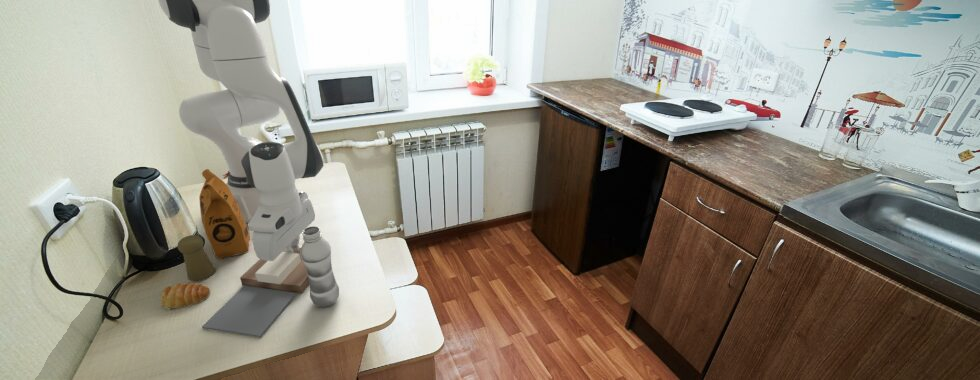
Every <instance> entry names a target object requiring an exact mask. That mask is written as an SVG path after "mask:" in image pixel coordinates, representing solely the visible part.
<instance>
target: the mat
mask: <svg viewBox="0 0 980 380" xmlns="http://www.w3.org/2000/svg"><path fill="white" fill-rule="evenodd" d="M297 295H298V293H294V292H287V291H280V290H272V289H265V288H258V287H251V286H242V287H241V288H240V289H238V291H237V292H236V293H235V294H234V295H233V296H232V297H230V299H228V300H227V301H226V302H225V303H224V304H223V306H222V307H221V306H220V308H219V309H218V310H217V311H216V312H215V313H214V314H213V315H212V316H211V317H210V318H209V319H208V320H207V321H206V322H205V323H204V324H203V325H202V326H201V329H204V330H210V331H216V332H223V333H228V334H235V335H240V336H241V335H242V336H249V337H254V338H260V339H261V338H262V337H263V336H264V335H265V334H266V332H267V331H268V330H269V329H270V328H271V327H272V325H273V324H274V323H275V321H277V319H278V318H279V317H280V316H281V314H282V313H283V312H284V311H285V310H286V308H287V307H288V306H289V305H290V304H291V303H292V301H293V300H294V299H295V298H296V297H297Z"/></svg>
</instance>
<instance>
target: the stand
mask: <svg viewBox="0 0 980 380" xmlns="http://www.w3.org/2000/svg"><path fill="white" fill-rule="evenodd" d="M300 251H301V247H299V250H298V251H297V252H296V253H298V254H299V255H300ZM283 252H286V251H285V250H284V251H283ZM300 259H301V262H300V263H299V264H298V265H297V267H296V268H295V269H294V270H293V271H292V272H291V273H290V274H289V275H288V276H287V278H286V279H285V280H284V281H283V282H282V283H281V284H274V283H267V282H259V281H257V278H256V274H255V273H256V272H257V271H258V270H259V269H260V268H261V267H262V266H263V265H264V264H265V263H266V262H267V261H266V260H261V259H259V258H258V260H257V261H256V262H255V263H254V264H253V265H252V266H251V267H250V268H249V269H248V270H246V271H245V272H244V273H243V274H242V275H241V276H240V277H239V279H240V282H241V285H242V287H243V286H251V287H258V288H265V289H272V290H280V291H287V292H294V293H297V294H300V295H302V294H304V292H305V291H306V290H307V288H308V287H310V284H309V277H308V273H307V270H306V267H305V265H304V263H303V260H302V258H301V255H300Z"/></svg>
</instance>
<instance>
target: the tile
mask: <svg viewBox="0 0 980 380" xmlns="http://www.w3.org/2000/svg"><path fill="white" fill-rule="evenodd" d="M300 262H301V259H300V255H299V254H298V253H290V252H282V253H281V254H280V255H279V256H278V257H277V258H276V259H275V260H273V261H267V262H266V263H265V264H264V265H263V266H262V267H261V268H260V269H259V270H258V271H257V272H256V273H255V274H256V278H257V281H259V282H267V283H274V284H281V283H282V282H283V281H284V280H285V279H286V278H287V276H288V275H289V274H290V273H291V272H292V271H293V270H294V269H295V268H296V267H297V265H298V264H299V263H300Z"/></svg>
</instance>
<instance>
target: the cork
mask: <svg viewBox="0 0 980 380" xmlns="http://www.w3.org/2000/svg"><path fill="white" fill-rule="evenodd" d="M203 247H204V240H203V238H202V237H200V235H197V234H196V235H194V234H193V235H191V234H190V235H187V236H185V237H183V238H180V239H179V240H178V242H177V250H178V251H179V252H180V253H181V254H182V255H183V260H184V264H185V270H186V274H187V280H189V281H190V282H191V283H196V282H203V281H206V280H208V279H210V278H212V276H214V275H215V274H216V272H217V270H216V267H215V265H214V264H213V263H212V260H211V259H210V257H209V255H208V254H207V252H206V251H205V249H204V248H203Z"/></svg>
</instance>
